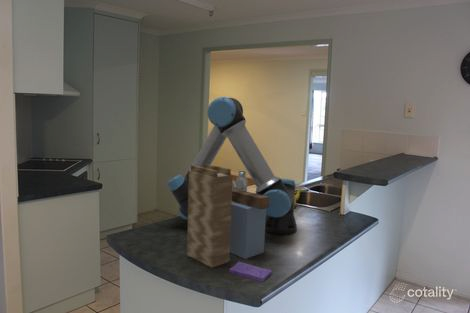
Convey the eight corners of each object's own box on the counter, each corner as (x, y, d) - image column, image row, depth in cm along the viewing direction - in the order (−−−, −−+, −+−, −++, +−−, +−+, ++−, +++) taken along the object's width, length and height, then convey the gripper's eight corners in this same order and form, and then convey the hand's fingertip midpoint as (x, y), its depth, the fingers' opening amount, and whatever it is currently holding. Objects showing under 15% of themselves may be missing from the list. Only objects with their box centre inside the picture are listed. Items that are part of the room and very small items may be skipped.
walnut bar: (215, 197, 151) (216, 187, 150) (223, 195, 154) (223, 185, 153) (261, 209, 134) (261, 198, 133) (268, 207, 137) (269, 196, 136)
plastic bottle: (246, 210, 199) (247, 173, 197) (233, 209, 201) (234, 172, 198) (248, 207, 206) (249, 171, 203) (235, 206, 207) (237, 170, 204)
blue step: (226, 250, 144) (228, 203, 142) (244, 244, 151) (246, 199, 149) (245, 259, 137) (247, 209, 135) (263, 252, 144) (266, 204, 142)
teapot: (289, 212, 200) (290, 190, 199) (267, 206, 209) (268, 185, 208) (302, 207, 211) (304, 186, 210) (280, 202, 220) (281, 182, 218)
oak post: (187, 255, 139) (188, 165, 134) (204, 249, 144) (206, 163, 140) (212, 267, 129) (215, 171, 124) (229, 261, 134) (232, 169, 130)
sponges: (262, 283, 120) (262, 278, 120) (228, 273, 126) (228, 268, 126) (271, 275, 126) (272, 270, 126) (238, 266, 132) (238, 261, 132)
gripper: (223, 207, 165) (258, 189, 149) (190, 214, 153) (225, 195, 137) (217, 190, 167) (252, 171, 151) (184, 196, 154) (218, 176, 139)
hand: (239, 182), depth 144 cm, fingers open, 5 cm apart
